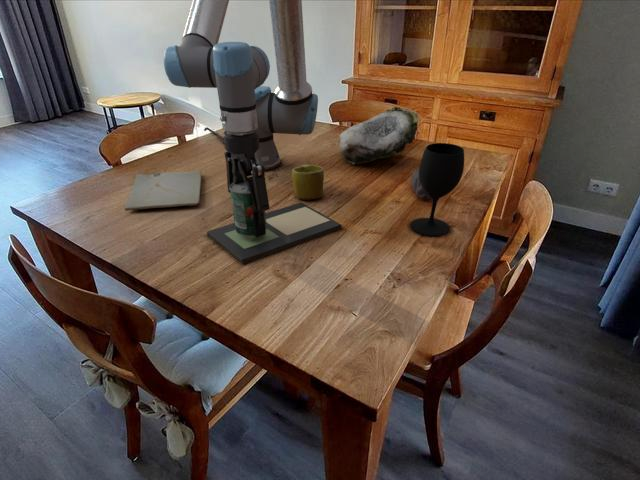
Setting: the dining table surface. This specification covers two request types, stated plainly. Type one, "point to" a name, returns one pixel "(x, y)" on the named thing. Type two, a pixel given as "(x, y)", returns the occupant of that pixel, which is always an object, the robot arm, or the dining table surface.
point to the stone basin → (379, 136)
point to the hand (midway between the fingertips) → (251, 228)
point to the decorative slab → (164, 190)
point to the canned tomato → (242, 209)
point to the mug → (308, 182)
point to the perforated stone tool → (418, 186)
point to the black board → (275, 232)
